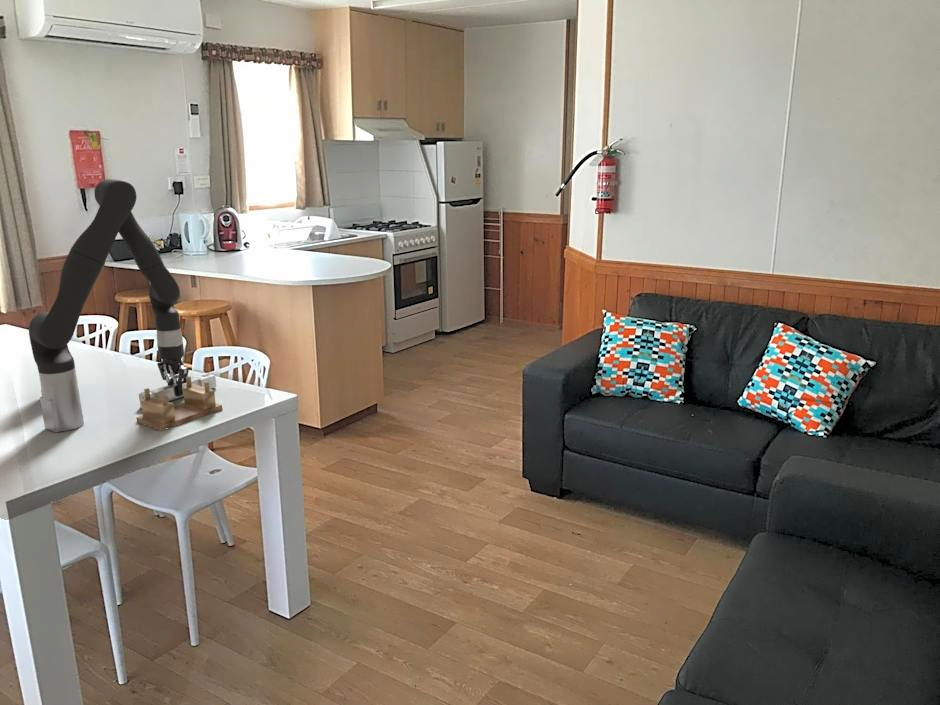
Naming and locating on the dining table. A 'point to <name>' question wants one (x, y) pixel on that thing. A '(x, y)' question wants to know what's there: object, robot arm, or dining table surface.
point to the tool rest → (178, 407)
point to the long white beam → (170, 389)
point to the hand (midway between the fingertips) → (176, 394)
